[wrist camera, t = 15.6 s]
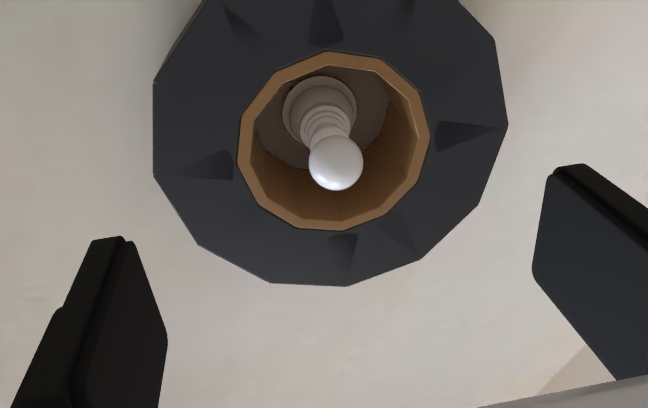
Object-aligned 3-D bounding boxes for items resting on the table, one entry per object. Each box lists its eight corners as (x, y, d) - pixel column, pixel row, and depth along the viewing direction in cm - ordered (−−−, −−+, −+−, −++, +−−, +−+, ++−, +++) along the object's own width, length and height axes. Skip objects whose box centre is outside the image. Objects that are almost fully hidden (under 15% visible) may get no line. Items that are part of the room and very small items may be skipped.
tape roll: (112, 136, 18) (83, 185, 15) (295, -140, 14) (309, -155, 11) (335, 267, 23) (350, 326, 19) (516, 82, 19) (571, 117, 16)
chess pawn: (358, 73, 18) (391, 125, 14) (353, 143, 20) (382, 210, 15) (281, 74, 18) (291, 128, 13) (283, 146, 19) (292, 214, 15)
